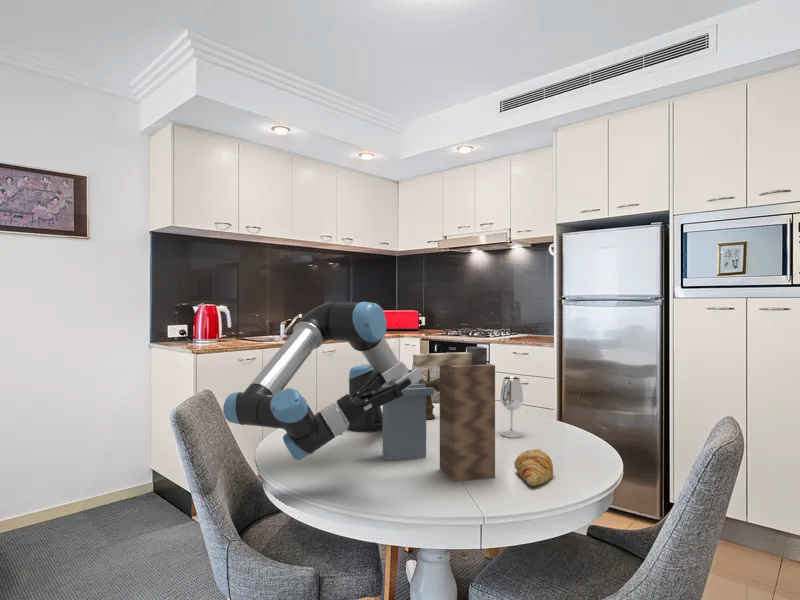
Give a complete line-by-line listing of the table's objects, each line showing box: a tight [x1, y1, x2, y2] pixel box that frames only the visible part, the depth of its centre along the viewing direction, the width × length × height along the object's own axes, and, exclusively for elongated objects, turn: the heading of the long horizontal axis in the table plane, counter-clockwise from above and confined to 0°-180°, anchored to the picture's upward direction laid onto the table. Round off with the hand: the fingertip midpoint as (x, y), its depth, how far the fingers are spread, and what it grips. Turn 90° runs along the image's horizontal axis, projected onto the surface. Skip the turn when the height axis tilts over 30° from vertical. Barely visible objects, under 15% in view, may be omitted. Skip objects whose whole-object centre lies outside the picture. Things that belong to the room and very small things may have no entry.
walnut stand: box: [439, 362, 496, 483], centre depth 136 cm, size 12×10×30 cm
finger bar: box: [412, 346, 488, 368], centre depth 134 cm, size 20×4×4 cm, turn 107°
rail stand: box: [378, 384, 435, 462], centre depth 151 cm, size 16×8×21 cm, turn 107°
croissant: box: [513, 449, 554, 487], centre depth 134 cm, size 21×10×8 cm, turn 163°
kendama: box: [419, 368, 440, 420], centre depth 198 cm, size 6×10×20 cm, turn 79°
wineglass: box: [500, 376, 524, 439], centre depth 174 cm, size 8×8×20 cm
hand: (411, 369), depth 131 cm, fingers open, 13 cm apart
